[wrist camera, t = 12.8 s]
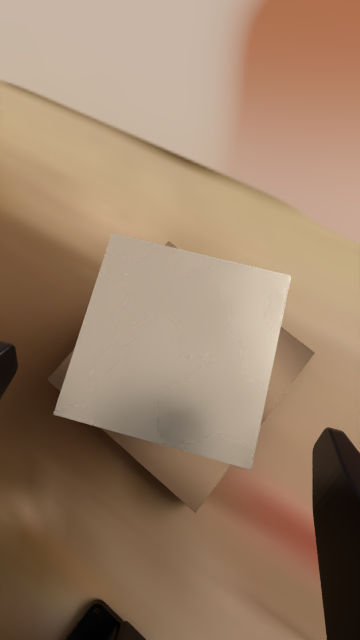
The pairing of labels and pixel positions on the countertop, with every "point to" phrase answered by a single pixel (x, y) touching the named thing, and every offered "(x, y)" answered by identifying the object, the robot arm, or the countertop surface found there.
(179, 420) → the cream tea tin
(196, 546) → the countertop surface
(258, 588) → the countertop surface
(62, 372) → the walnut block
